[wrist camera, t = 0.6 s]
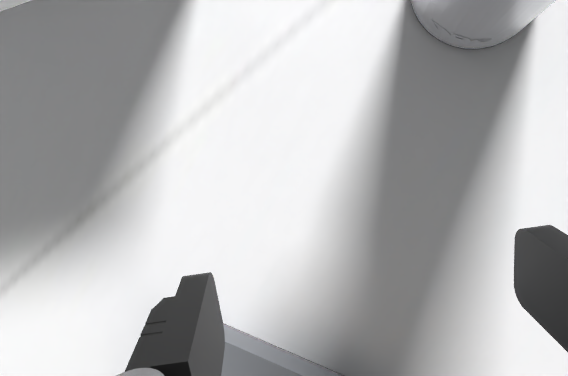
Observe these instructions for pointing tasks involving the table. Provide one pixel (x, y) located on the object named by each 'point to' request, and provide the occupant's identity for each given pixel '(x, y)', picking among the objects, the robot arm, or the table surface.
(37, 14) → the table surface
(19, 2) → the cube
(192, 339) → the robot arm
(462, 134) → the table surface
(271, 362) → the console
